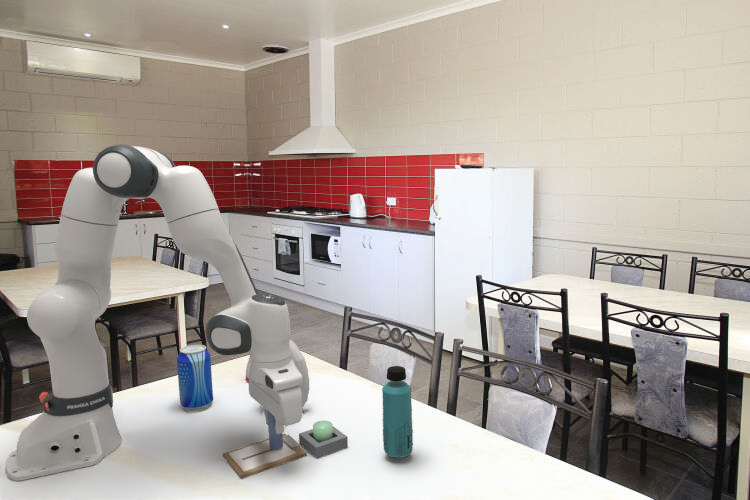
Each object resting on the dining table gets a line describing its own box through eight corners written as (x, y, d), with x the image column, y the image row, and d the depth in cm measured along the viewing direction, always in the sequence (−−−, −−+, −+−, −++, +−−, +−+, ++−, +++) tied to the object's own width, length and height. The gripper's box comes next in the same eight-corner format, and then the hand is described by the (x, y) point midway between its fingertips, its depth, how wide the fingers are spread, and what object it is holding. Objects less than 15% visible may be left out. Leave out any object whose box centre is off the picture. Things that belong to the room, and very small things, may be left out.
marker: (272, 451, 115) (270, 407, 114) (266, 445, 118) (264, 402, 116) (285, 446, 117) (283, 403, 115) (279, 441, 119) (277, 398, 118)
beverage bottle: (411, 466, 111) (410, 374, 108) (380, 463, 112) (378, 372, 109) (415, 450, 117) (414, 363, 114) (385, 447, 118) (384, 361, 116)
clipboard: (241, 478, 107) (240, 472, 107) (222, 456, 116) (222, 450, 116) (306, 455, 116) (306, 449, 116) (284, 435, 125) (284, 430, 125)
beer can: (217, 407, 141) (213, 349, 139) (185, 415, 136) (180, 356, 134) (208, 396, 148) (204, 341, 146) (176, 404, 143) (172, 347, 141)
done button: (319, 447, 117) (318, 431, 116) (309, 439, 120) (309, 424, 120) (336, 441, 119) (336, 425, 119) (326, 433, 123) (326, 418, 122)
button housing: (316, 458, 114) (316, 447, 114) (299, 443, 121) (298, 433, 120) (347, 447, 119) (347, 436, 119) (329, 433, 125) (329, 423, 125)
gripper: (240, 358, 121) (243, 415, 123) (278, 386, 105) (281, 451, 107) (265, 352, 125) (268, 408, 127) (306, 378, 108) (309, 442, 110)
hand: (274, 428), depth 117 cm, fingers closed on marker, 3 cm apart
